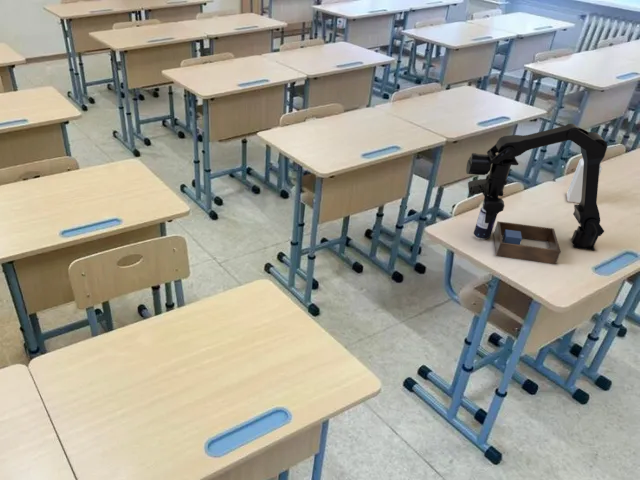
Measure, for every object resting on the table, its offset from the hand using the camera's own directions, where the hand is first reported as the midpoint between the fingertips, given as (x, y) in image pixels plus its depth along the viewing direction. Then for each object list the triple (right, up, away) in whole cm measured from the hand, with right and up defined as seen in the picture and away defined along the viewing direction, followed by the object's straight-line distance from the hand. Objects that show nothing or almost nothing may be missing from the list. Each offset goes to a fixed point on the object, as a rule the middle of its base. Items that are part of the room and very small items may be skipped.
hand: (485, 216), depth 193 cm
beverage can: (+1, -7, +5) cm, 8 cm away
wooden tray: (+12, -11, -1) cm, 17 cm away
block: (+8, -10, 0) cm, 13 cm away
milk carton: (+48, +11, +27) cm, 57 cm away
